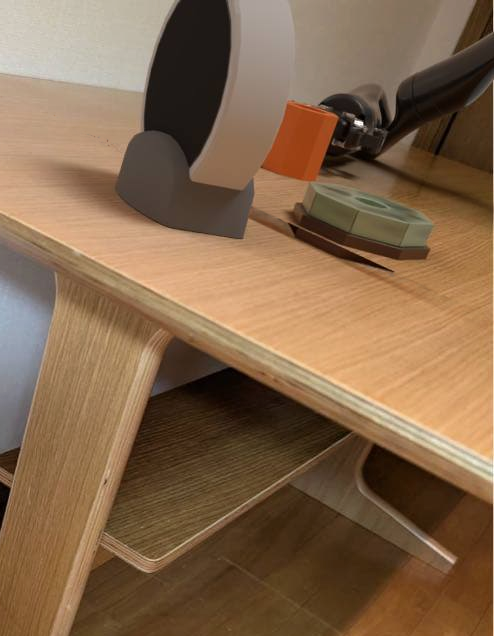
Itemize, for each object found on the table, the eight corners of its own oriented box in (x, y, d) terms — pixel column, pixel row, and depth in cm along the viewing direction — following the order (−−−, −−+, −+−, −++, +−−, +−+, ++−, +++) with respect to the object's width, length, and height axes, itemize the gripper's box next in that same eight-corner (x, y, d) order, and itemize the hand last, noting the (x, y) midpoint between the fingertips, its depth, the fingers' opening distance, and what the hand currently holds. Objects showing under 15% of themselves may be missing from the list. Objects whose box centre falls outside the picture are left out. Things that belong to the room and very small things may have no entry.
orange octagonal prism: (280, 174, 101) (304, 103, 97) (320, 191, 98) (348, 118, 93) (248, 171, 97) (272, 97, 93) (289, 189, 94) (315, 113, 89)
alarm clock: (95, 174, 76) (148, -65, 65) (192, 191, 79) (256, -32, 69) (158, 231, 64) (236, -50, 53) (269, 249, 67) (361, -11, 57)
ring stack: (337, 224, 83) (353, 183, 81) (439, 269, 76) (459, 226, 74) (265, 223, 75) (281, 178, 73) (371, 273, 69) (391, 225, 67)
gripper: (382, 170, 112) (359, 178, 99) (285, 138, 115) (251, 143, 103) (406, 109, 107) (385, 110, 95) (305, 79, 111) (272, 76, 98)
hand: (316, 127), depth 99 cm, fingers open, 8 cm apart
